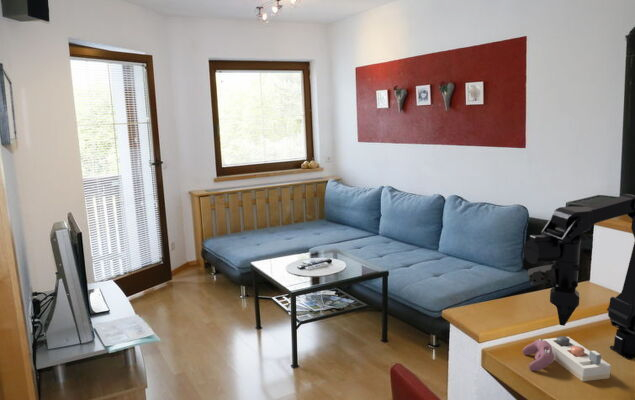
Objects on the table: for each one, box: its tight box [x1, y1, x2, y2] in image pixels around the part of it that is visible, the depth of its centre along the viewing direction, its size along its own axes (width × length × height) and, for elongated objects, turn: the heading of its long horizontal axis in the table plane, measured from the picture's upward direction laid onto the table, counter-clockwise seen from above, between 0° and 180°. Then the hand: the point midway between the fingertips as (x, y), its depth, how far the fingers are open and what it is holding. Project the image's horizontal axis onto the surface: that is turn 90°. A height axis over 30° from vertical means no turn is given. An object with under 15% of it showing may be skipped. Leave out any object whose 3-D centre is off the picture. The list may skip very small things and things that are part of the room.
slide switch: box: [589, 350, 602, 365], centre depth 124 cm, size 1×2×4 cm, turn 11°
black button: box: [556, 335, 570, 347], centre depth 134 cm, size 3×3×2 cm
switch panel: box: [542, 336, 612, 382], centre depth 130 cm, size 8×16×3 cm, turn 11°
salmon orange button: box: [571, 346, 585, 357], centre depth 129 cm, size 3×3×2 cm
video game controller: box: [522, 338, 555, 372], centre depth 130 cm, size 10×5×7 cm, turn 169°
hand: (562, 317), depth 128 cm, fingers open, 9 cm apart
